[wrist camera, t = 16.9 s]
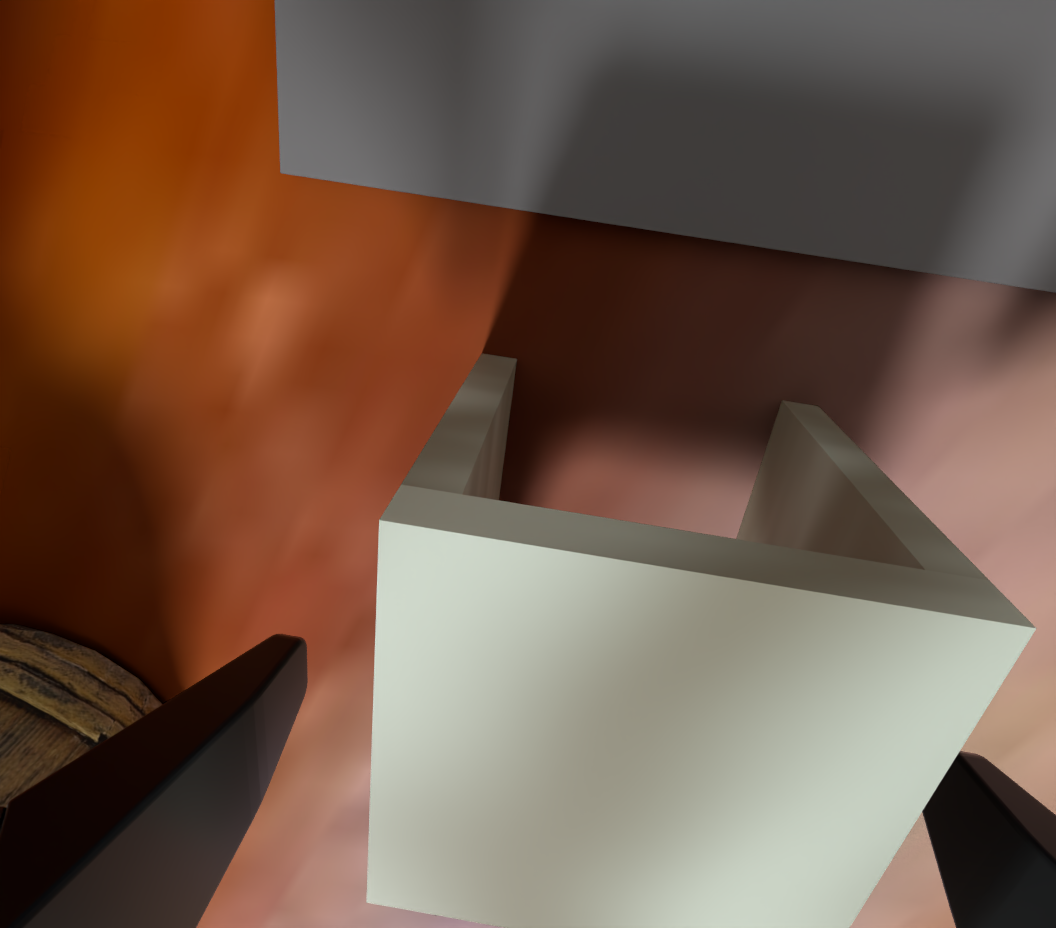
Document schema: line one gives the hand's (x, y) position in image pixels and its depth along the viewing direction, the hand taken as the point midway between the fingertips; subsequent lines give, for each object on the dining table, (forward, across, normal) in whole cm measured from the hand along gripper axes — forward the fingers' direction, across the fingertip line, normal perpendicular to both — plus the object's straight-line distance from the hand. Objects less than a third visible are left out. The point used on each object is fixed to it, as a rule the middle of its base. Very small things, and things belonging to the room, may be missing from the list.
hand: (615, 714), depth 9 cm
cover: (+5, 0, 0) cm, 5 cm away
